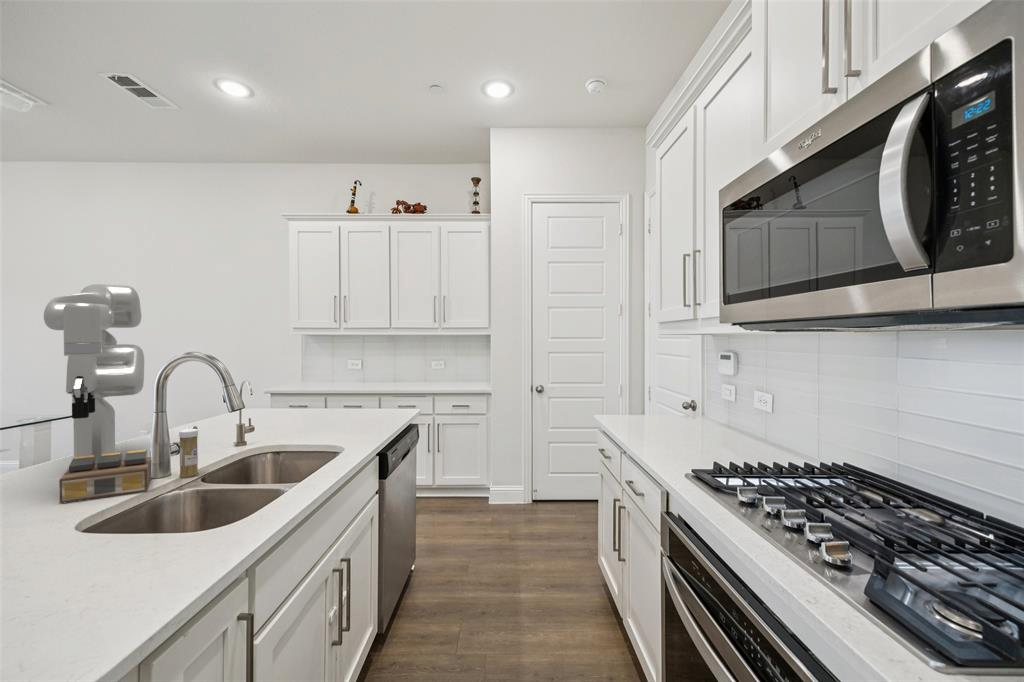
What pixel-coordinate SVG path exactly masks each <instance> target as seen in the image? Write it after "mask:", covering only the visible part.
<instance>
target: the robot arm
mask: <svg viewBox="0 0 1024 682" xmlns="http://www.w3.org/2000/svg"><path fill="white" fill-rule="evenodd" d="M43 322H44V323H45V326H46V327H47V328H49V329H50V330H53V331H63V355H64V356H66V357H67V362H66V363H67V364H66V380H65V382H66V383H65V384H66V385H65V392H66V394H68V395H69V394H70V395H71V402H72V403H71V418H72V419H73V458H74V457H80V456H90V455H96V461H95V463H98V460H99V458H100V456H101V454H109V453H116V411H115V409H114V407H113V405H112V404H110V402H108V401H107V400H106V399H105V398H108V397H123V396H135V395H138V394H140V393H141V391H142V390H143V388H144V384H145V383H144V381H145V354H144V352H143V349H142V348H141V347H140V346H139V345H135V344H127V343H126V344H124V343H123V344H118V341H117V338H116V337H115V336H114V335H113V334H111V333H110V332H109V331H107V330H108V329H111V328H114V329H117V328H118V329H120V328H122V329H125V328H126V329H129V328H137V327H138V326H139V325H140V324H141V322H142V311H141V300H140V296H139V293H138V292H137V290H136V289H135V288H134V287H132V286H130V285H121V284H119V285H116V284H102V283H100V284H97V283H96V284H89V285H87V286H85V287H84V288H83V289H82V290H80V293H79V292H78V293H74V294H68V295H63V296H62V295H61V296H57V297H56V296H55V297H54V298H52V299H50V301H49V302H48V303H47V304H46V306H45V308H44V312H43ZM64 356H63V357H64ZM68 470H69V467H68V468H67V469H66V472H67V471H68Z"/></svg>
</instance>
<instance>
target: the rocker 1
mask: <svg viewBox="0 0 1024 682" xmlns="http://www.w3.org/2000/svg"><path fill="white" fill-rule="evenodd" d="M95 461H96V455H90V456H80V457H74V456H73V458H72V459H71V462H70V463H69V465H68V468H69V472H71V471H79V470H88V469H92V468H93V467H94V463H95Z"/></svg>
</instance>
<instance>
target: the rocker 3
mask: <svg viewBox="0 0 1024 682" xmlns="http://www.w3.org/2000/svg"><path fill="white" fill-rule="evenodd" d="M147 455H148V449H139V450H132V451H131V450H130V451H126V453H125V457H124V459H123V460H124V465H131V464H140V463H145V461H146V458H148V457H147Z"/></svg>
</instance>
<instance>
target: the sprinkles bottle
mask: <svg viewBox="0 0 1024 682" xmlns="http://www.w3.org/2000/svg"><path fill="white" fill-rule="evenodd" d="M178 433H179V434H178V436H179V467H180V468H179V477H181V478H190V477H195V476H198V474H199V472H198V463H199V456H198V454H199V453H198V436H199V430H198V429H197V428H185V429H182V430H179V431H178Z"/></svg>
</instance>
